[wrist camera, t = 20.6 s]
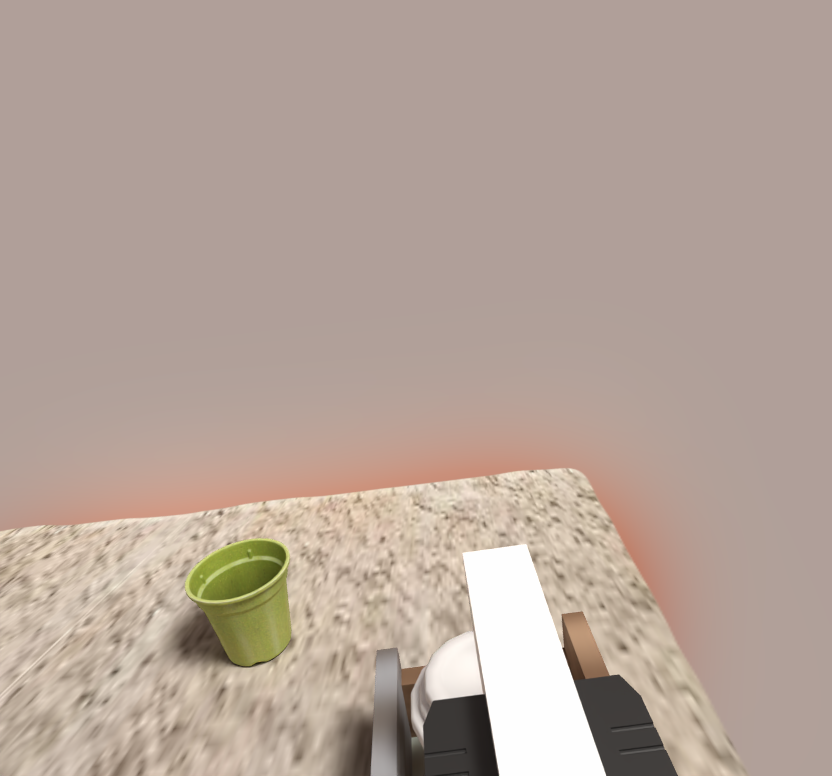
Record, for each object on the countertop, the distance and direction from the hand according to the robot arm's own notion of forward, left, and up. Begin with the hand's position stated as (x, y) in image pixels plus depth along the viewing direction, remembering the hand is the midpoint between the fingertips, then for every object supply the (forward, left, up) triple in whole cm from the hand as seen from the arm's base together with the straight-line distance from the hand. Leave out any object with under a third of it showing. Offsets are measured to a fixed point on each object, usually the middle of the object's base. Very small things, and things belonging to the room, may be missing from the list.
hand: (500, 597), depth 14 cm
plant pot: (-40, -5, -30) cm, 50 cm away
